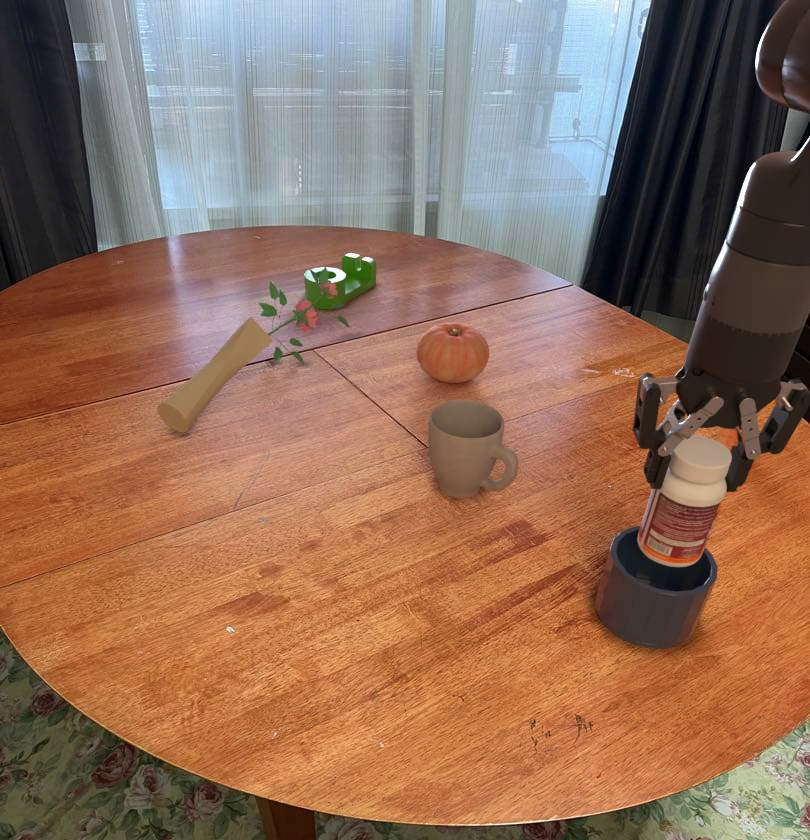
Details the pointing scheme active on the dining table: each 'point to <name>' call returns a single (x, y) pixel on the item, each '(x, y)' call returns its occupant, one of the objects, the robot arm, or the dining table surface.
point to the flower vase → (240, 356)
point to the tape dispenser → (342, 281)
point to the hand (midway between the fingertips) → (690, 484)
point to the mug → (468, 448)
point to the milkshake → (729, 436)
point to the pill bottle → (685, 503)
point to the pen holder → (652, 594)
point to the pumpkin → (452, 352)
